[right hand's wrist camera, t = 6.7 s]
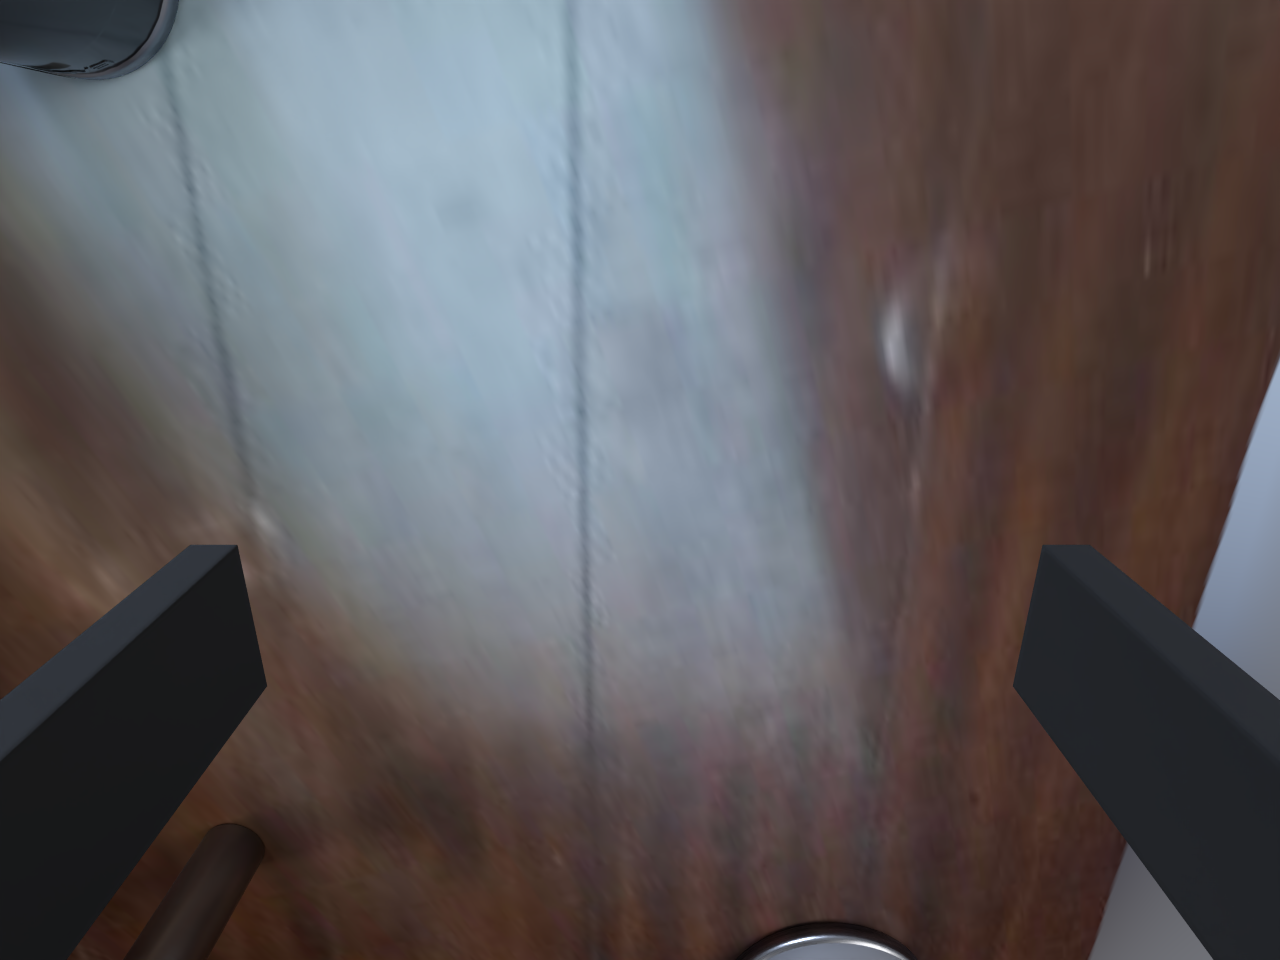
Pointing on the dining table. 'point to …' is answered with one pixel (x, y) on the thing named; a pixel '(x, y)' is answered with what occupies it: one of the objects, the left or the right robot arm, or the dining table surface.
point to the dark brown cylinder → (201, 897)
